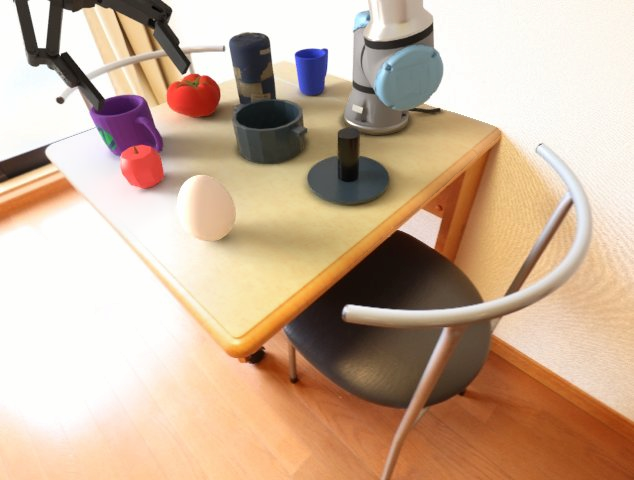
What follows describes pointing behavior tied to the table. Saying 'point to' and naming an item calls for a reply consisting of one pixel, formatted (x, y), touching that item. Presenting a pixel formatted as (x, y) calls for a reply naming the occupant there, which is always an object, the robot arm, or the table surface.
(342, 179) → the lid
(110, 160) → the table surface
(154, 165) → the apple
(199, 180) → the egg
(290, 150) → the pot
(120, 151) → the mug
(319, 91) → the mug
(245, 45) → the canister
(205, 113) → the tomato
